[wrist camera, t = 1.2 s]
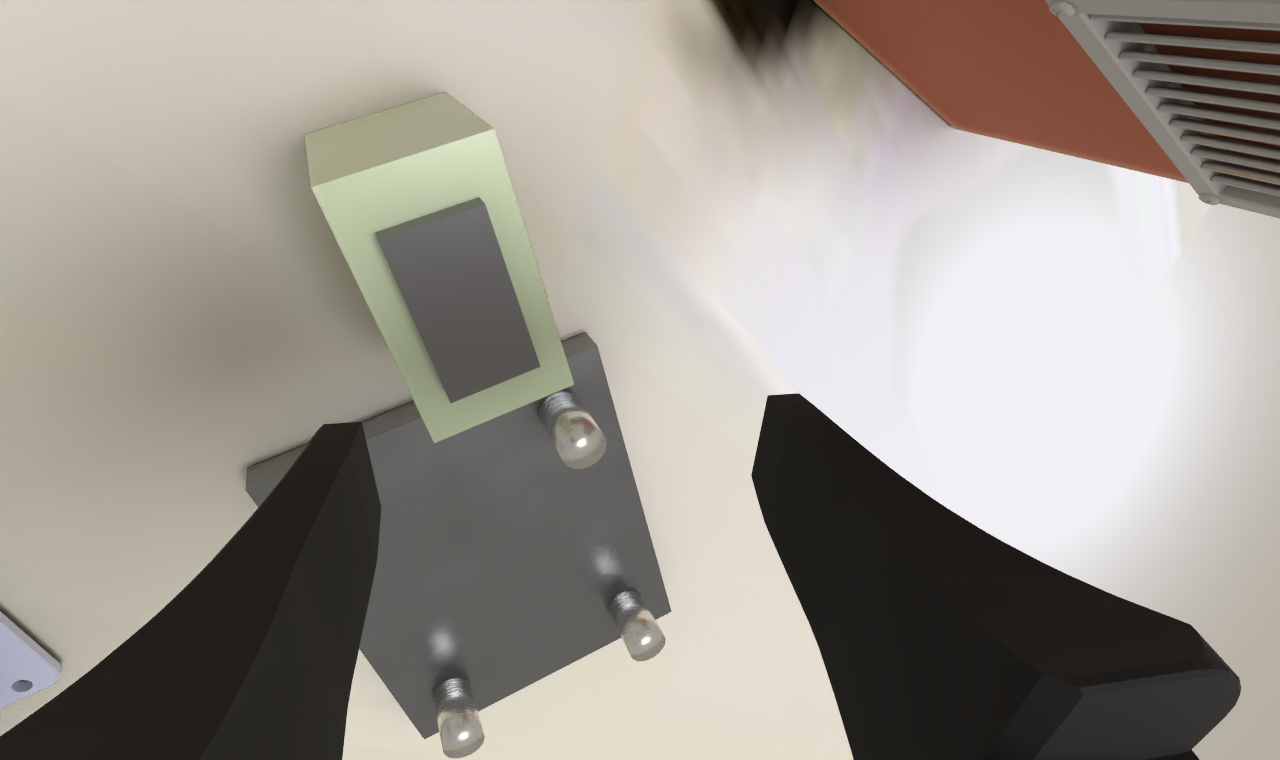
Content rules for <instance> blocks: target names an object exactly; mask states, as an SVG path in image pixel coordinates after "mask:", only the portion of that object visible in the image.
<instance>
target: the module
mask: <svg viewBox="0 0 1280 760" xmlns="http://www.w3.org/2000/svg"><path fill="white" fill-rule="evenodd" d="M304 138H305V146H306V153H307V161H308V169H309V176H310V184H311V188H312V191H313V193H314V195H315V197H316V199H317V201H318V203H319V205H320V207H321V209H322V211H323V213H324V215H325V218H326V220H327V222H328V224H329V226H330V228H331V230H332V232H333V234H334V236H335V238H336V240H337V242H338V245H339V247H340V249H341V251H342V253H343V255H344V257H345V259H346V261H347V263H348V265H349V267H350V269H351V272H352V274H353V276H354V278H355V280H356V282H357V284H358V286H359V288H360V290H361V292H362V294H363V296H364V298H365V301H366V303H367V305H368V307H369V309H370V311H371V313H372V315H373V317H374V319H375V321H376V323H377V325H378V328H379V330H380V332H381V334H382V336H383V338H384V340H385V342H386V344H387V346H388V348H389V350H390V352H391V355H392V357H393V359H394V361H395V363H396V365H397V367H398V369H399V371H400V373H401V375H402V377H403V379H404V382H405V384H406V386H407V388H408V390H409V392H410V394H411V396H412V398H413V400H414V402H415V404H416V406H417V408H418V411H419V413H420V415H421V417H422V419H423V421H424V423H425V425H426V427H427V429H428V431H429V433H430V435H431V438H432V440H433V442H434V443H436V442H439V441H441V440H443V439H446V438H448V437H450V436H453V435H455V434H458V433H460V432H462V431H465V430H467V429H470V428H472V427H474V426H477V425H479V424H481V423H484V422H486V421H489V420H491V419H493V418H496V417H498V416H501V415H503V414H505V413H508V412H510V411H512V410H515V409H517V408H520V407H522V406H524V405H527V404H529V403H531V402H534V401H536V400H539V399H541V398H543V397H546V396H548V395H551V394H553V393H555V392H558V391H560V390H562V389H565V388H567V387H570V386H572V385H574V381H573V378H572V375H571V372H570V369H569V365H568V362H567V359H566V356H565V353H564V349H563V346H562V343H561V340H560V337H559V334H558V330H557V327H556V324H555V321H554V318H553V314H552V311H551V308H550V305H549V302H548V298H547V295H546V292H545V289H544V286H543V282H542V279H541V276H540V273H539V270H538V266H537V263H536V260H535V257H534V254H533V250H532V247H531V244H530V241H529V238H528V235H527V231H526V228H525V225H524V222H523V219H522V215H521V212H520V209H519V206H518V203H517V199H516V196H515V193H514V190H513V187H512V183H511V180H510V177H509V174H508V171H507V167H506V164H505V161H504V158H503V155H502V151H501V148H500V145H499V142H498V139H497V136H496V132H495V129H494V128H493V127H491V126H490V125H489V124H487V123H486V122H485V121H483V120H482V119H481V118H479V117H478V116H477V115H475V114H474V113H473V112H471V111H470V110H469V109H467V108H466V107H464V106H463V105H462V104H460V103H459V102H458V101H456V100H455V99H454V98H452V97H451V96H450V95H448V94H447V93H446V92H443V93H439V94H436V95H433V96H429V97H426V98H423V99H419V100H416V101H413V102H410V103H406V104H403V105H400V106H396V107H393V108H390V109H386V110H383V111H380V112H376V113H373V114H370V115H366V116H363V117H360V118H356V119H353V120H350V121H346V122H343V123H340V124H336V125H333V126H330V127H327V128H323V129H320V130H317V131H313V132H310V133H307V134H304Z"/></svg>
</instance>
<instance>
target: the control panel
mask: <svg viewBox="0 0 1280 760" xmlns="http://www.w3.org/2000/svg"><path fill="white" fill-rule="evenodd" d="M813 1H814V2H815V3H816V4H818V5H819V6H820V7H821V8H822V9H823V10H824V11H825V12H826V13H827V14H829V15H830V16H831V17H832V18H833V19H834V20H835V21H836V22H837V23H838V24H840V25H841V26H842V27H843V28H844V29H845V30H846V31H847V32H848V33H850V34H851V35H852V36H853V37H854V38H855V39H856V40H857V41H858V42H859V43H861V44H862V45H863V46H864V47H865V48H866V49H867V50H868V51H869V52H870V53H872V54H873V55H874V56H875V57H876V58H877V59H878V60H879V61H880V62H882V63H883V64H884V65H885V66H886V67H887V68H888V69H889V70H890V71H891V72H893V73H894V74H895V75H896V76H897V77H898V78H899V79H900V80H901V81H902V82H904V83H905V84H906V85H907V86H908V87H909V88H910V89H911V90H912V91H914V92H915V93H916V94H917V95H918V96H919V97H920V98H921V99H922V100H923V101H925V102H926V103H927V104H928V105H929V106H930V107H931V108H932V109H933V110H934V111H936V112H937V113H938V114H939V115H940V116H941V117H942V118H943V119H944V120H946V121H947V122H948V123H949V124H950V125H951V126H952V127H953V128H954V129H959V130H963V131H967V132H972V133H976V134H980V135H984V136H989V137H993V138H997V139H1002V140H1006V141H1010V142H1015V143H1019V144H1023V145H1028V146H1032V147H1036V148H1040V149H1045V150H1049V151H1053V152H1058V153H1062V154H1067V155H1071V156H1075V157H1080V158H1083V159H1088V160H1092V161H1096V162H1101V163H1105V164H1109V165H1114V166H1118V167H1122V168H1127V169H1131V170H1135V171H1139V172H1144V173H1148V174H1152V175H1157V176H1161V177H1165V178H1170V179H1174V180H1178V181H1182V182H1187V183H1190V185H1191V186H1192V187H1193V189H1194V190H1195V191H1196V192H1197V194H1198V195H1199V199H1200V200H1201V201H1203V202H1205V203H1207V204H1210V205H1217V204H1218V203H1220V204H1224V205H1228V206H1232V207H1236V208H1240V209H1244V210H1248V211H1252V212H1256V213H1260V214H1265V215H1268V216H1272V217H1277V218H1280V0H813Z"/></svg>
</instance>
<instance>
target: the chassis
mask: <svg viewBox="0 0 1280 760" xmlns="http://www.w3.org/2000/svg"><path fill="white" fill-rule="evenodd" d="M561 343H562V346H563V349H564V353H565V356H566V359H567V362H568V365H569V369H570V372H571V375H572V378H573V381H574V385H572V386H570V387H567V388H565V389H562V390H560V391H558V392H555V393H553V394H551V395H548V396H546V397H543V398H541V399H539V400H536V401H534V402H531V403H529V404H527V405H524V406H522V407H520V408H517V409H515V410H512V411H510V412H508V413H505V414H503V415H501V416H498V417H496V418H493V419H491V420H489V421H486V422H484V423H481V424H479V425H477V426H474V427H472V428H470V429H467V430H465V431H462V432H460V433H458V434H455V435H453V436H450V437H448V438H446V439H443V440H441V441H439V442H436V443H434V442H433V440H432V438H431V435H430V433H429V431H428V429H427V427H426V425H425V423H424V421H423V419H422V417H421V415H420V413H419V411H418V408H417V406H416V404H415V402H414V401H413V402H410V403H408V404H405V405H403V406H401V407H398V408H396V409H393V410H391V411H388V412H386V413H383V414H381V415H378V416H376V417H373V418H371V419H368V420H366V421H363V422H362V425H363V429H364V433H365V438H366V442H367V447H368V451H369V455H370V460H371V464H372V469H373V473H374V477H375V482H376V486H377V490H378V495H379V499H380V504H381V519H380V533H379V545H378V557H377V564H376V569H375V574H374V579H373V584H372V589H371V594H370V599H369V603H368V608H367V613H366V618H365V622H364V627H363V632H362V636H361V641H360V646H359V649H360V650H361V651H362V653H363V654H364V656H365V657H366V658H367V660H368V661H369V663H370V664H371V665H372V667H373V668H374V670H375V671H376V672H377V674H378V675H379V677H380V678H381V679H382V681H383V682H384V684H385V685H386V686H387V688H388V689H389V691H390V692H391V693H392V695H393V696H394V698H395V699H396V700H397V702H398V703H399V705H400V706H401V707H402V709H403V710H404V712H405V713H406V714H407V716H408V717H409V719H410V720H411V721H412V723H413V724H414V726H415V727H416V728H417V730H418V731H419V733H420V734H421V735H422V737H423V738H424V739H426V738H428V737H430V736H432V735H434V734H436V733H438V732H439V733H440V738H441V742H442V747H443V752H444V754H445V755H446V756H447V757H450V758H461V757H465V756H468V755H470V754H472V753H473V752H475V751H476V750H477V749H478V748H480V746H481V745H482V744H483V741H484V733H483V729H482V726H481V722H480V718H479V714H478V711H480V710H482V709H484V708H486V707H488V706H490V705H492V704H494V703H496V702H497V701H499V700H501V699H503V698H505V697H507V696H509V695H511V694H513V693H515V692H517V691H519V690H521V689H523V688H524V687H526V686H528V685H530V684H532V683H534V682H536V681H538V680H540V679H542V678H544V677H546V676H548V675H550V674H552V673H553V672H555V671H557V670H559V669H561V668H563V667H565V666H567V665H569V664H571V663H573V662H575V661H577V660H579V659H581V658H582V657H584V656H586V655H588V654H590V653H592V652H594V651H596V650H598V649H600V648H602V647H604V646H606V645H608V644H610V643H611V642H613V641H615V640H617V639H619V638H621V637H622V639H623V641H624V643H625V645H626V647H627V649H628V651H629V653H630V655H631V657H632V658H633V659H634V660H636V661H645V660H648V659H651V658H653V657H654V656H656V655H657V654H658V653H659V652H660V651H661V650H662V649H663V647H664V645H665V637H664V635H663V633H662V631H661V630H660V628H659V626H658V624H657V623H656V621H655V620H656V619H658V618H660V617H662V616H664V615H666V614H667V613H669V612H671V608H670V605H669V601H668V598H667V594H666V590H665V587H664V583H663V580H662V576H661V573H660V569H659V565H658V562H657V558H656V555H655V551H654V548H653V544H652V540H651V537H650V533H649V530H648V526H647V522H646V519H645V515H644V512H643V508H642V505H641V501H640V497H639V494H638V490H637V487H636V483H635V480H634V476H633V472H632V469H631V465H630V462H629V458H628V454H627V451H626V447H625V444H624V440H623V437H622V433H621V429H620V426H619V422H618V419H617V415H616V412H615V408H614V404H613V401H612V397H611V394H610V390H609V386H608V383H607V379H606V376H605V372H604V369H603V365H602V361H601V358H600V354H599V351H598V347H597V345H596V344H595V343H594V342H593V340H592V339H591V338H590V337H589V336H588V334H587V333H586V332H585V333H582V334H580V335H577V336H575V337H572V338H570V339H567V340H565V341H562V342H561ZM307 445H308V444H306V445H303V446H301V447H298V448H296V449H293V450H291V451H288V452H286V453H283V454H281V455H279V456H276V457H274V458H271V459H269V460H266V461H264V462H261V463H259V464H256V465H254V466H251V467H249V468H247V478H246V491H247V492H248V494H249V495H250V496H251V498H252V499H253V501H254V502H255V503H256V505H257V506H258V507H259V506H260V505H261V504H262V503H263V501H264V500H265V499H266V498H267V496H268V495H269V494H270V493H271V492H272V490H273V489H274V488H275V487H276V485H277V484H278V483H279V482H280V480H281V479H282V478H283V476H284V475H285V474H286V472H287V471H288V470H289V469H290V467H291V466H292V465H293V463H294V462H295V461H296V459H297V458H298V457H299V455H300V454H301V453H302V451H303V450H304V449H305V447H306V446H307Z"/></svg>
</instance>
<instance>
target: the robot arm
mask: <svg viewBox="0 0 1280 760" xmlns="http://www.w3.org/2000/svg"><path fill="white" fill-rule="evenodd" d="M751 476H752V480H753V483H754V487H755V490H756V494H757V498H758V501H759V505H760V508H761V511H762V515H763V518H764V521H765V524H766V526H767V529H768V531H769V533H770V536H771V538H772V540H773V543H774V545H775V547H776V549H777V552H778V554H779V556H780V559H781V561H782V563H783V565H784V568H785V570H786V572H787V574H788V577H789V579H790V581H791V583H792V585H793V588H794V590H795V592H796V594H797V597H798V599H799V601H800V603H801V606H802V608H803V610H804V612H805V615H806V617H807V619H808V621H809V623H810V626H811V628H812V631H813V633H814V636H815V639H816V641H817V644H818V646H819V649H820V652H821V655H822V658H823V661H824V664H825V667H826V670H827V673H828V676H829V679H830V683H831V686H832V689H833V692H834V695H835V698H836V701H837V705H838V708H839V711H840V715H841V718H842V721H843V725H844V728H845V731H846V735H847V738H848V741H849V744H850V748H851V751H852V755H853V759H854V760H1199V759H1198V757H1197V756H1196V755H1195V754H1194V752H1193V751H1192V750H1191V749H1192V748H1193V747H1194V746H1195V745H1197V744H1198V743H1199V741H1201V740H1202V739H1203V738H1204V737H1205V736H1206V735H1207V734H1208V733H1209V732H1210V731H1211V730H1212V729H1213V728H1214V727H1215V726H1216V725H1217V724H1218V723H1219V722H1220V721H1221V720H1222V719H1223V718H1224V717H1225V716H1226V715H1227V714H1228V713H1229V712H1230V711H1231V709H1232V708H1233V707H1234V706H1235V705H1236V702H1237V700H1238V698H1239V695H1240V691H1241V685H1240V680H1239V677H1238V676H1237V675H1236V674H1235V673H1234V672H1233V671H1232V670H1231V669H1230V667H1229V666H1228V665H1227V664H1226V663H1225V662H1224V661H1223V660H1222V658H1221V657H1219V655H1218V654H1217V653H1216V652H1215V651H1214V650H1213V649H1212V648H1211V646H1209V644H1208V643H1207V642H1206V641H1205V640H1204V639H1203V638H1202V637H1201V636H1200V634H1199V633H1198V632H1197V631H1196V630H1195V629H1194V628H1193V627H1192V626H1191V625H1190V624H1187V623H1185V622H1182V621H1179V620H1177V619H1174V618H1172V617H1169V616H1166V615H1164V614H1161V613H1159V612H1156V611H1153V610H1151V609H1148V608H1145V607H1143V606H1140V605H1137V604H1135V603H1133V602H1130V601H1127V600H1125V599H1122V598H1120V597H1117V596H1115V595H1112V594H1110V593H1107V592H1105V591H1103V590H1101V589H1098V588H1096V587H1094V586H1092V585H1090V584H1087V583H1085V582H1083V581H1080V580H1078V579H1076V578H1074V577H1072V576H1069V575H1067V574H1065V573H1063V572H1061V571H1059V570H1057V569H1054V568H1053V567H1051V566H1048V565H1046V564H1044V563H1042V562H1040V561H1038V560H1036V559H1034V558H1033V557H1031V556H1029V555H1027V554H1025V553H1023V552H1021V551H1019V550H1017V549H1016V548H1014V547H1012V546H1010V545H1008V544H1006V543H1004V542H1002V541H1001V540H999V539H997V538H995V537H994V536H992V535H990V534H988V533H986V532H985V531H983V530H981V529H980V528H978V527H976V526H975V525H973V524H972V523H970V522H968V521H967V520H965V519H964V518H962V517H960V516H959V515H957V514H955V513H954V512H952V511H951V510H949V509H947V508H946V507H944V506H943V505H941V504H940V503H938V502H937V501H935V500H934V499H932V498H931V497H929V496H928V495H927V494H925V493H924V492H922V491H921V490H920V489H918V488H917V487H915V486H914V485H913V484H911V483H910V482H909V481H907V480H906V479H904V478H903V477H902V476H900V475H899V474H898V473H896V472H895V471H894V470H892V469H891V468H890V467H888V466H887V465H886V464H885V463H883V462H882V461H881V460H879V459H878V458H877V457H876V456H874V455H873V454H872V453H871V452H869V451H868V450H867V449H866V448H864V447H863V446H862V445H861V444H860V443H858V442H857V441H856V440H855V439H853V438H852V437H851V436H850V435H849V434H847V433H846V432H845V431H844V430H843V429H841V428H840V427H839V426H838V425H837V424H835V423H834V422H833V421H832V420H831V419H829V418H828V417H827V416H826V415H825V414H824V413H822V412H821V411H820V410H819V409H818V408H816V407H815V406H814V405H813V404H811V403H810V402H809V401H808V400H807V399H805V398H804V397H803V396H801V395H800V394H784V395H769V396H768V397H767V402H766V407H765V412H764V417H763V422H762V427H761V432H760V436H759V441H758V446H757V451H756V456H755V461H754V466H753V471H752V475H751ZM380 519H381V504H380V499H379V495H378V490H377V486H376V482H375V477H374V473H373V469H372V464H371V460H370V455H369V451H368V447H367V442H366V438H365V433H364V429H363V425H362V422H354V423H338V424H324V425H323V426H322V427H321V428H320V429H319V430H318V431H317V432H316V434H315V435H314V436H313V438H312V439H311V440H310V442H309V443H308V445H307V446H306V447H305V449H304V450H303V451H302V453H301V454H300V455H299V457H298V458H297V459H296V461H295V462H294V463H293V465H292V466H291V467H290V469H289V470H288V471H287V472H286V474H285V475H284V476H283V478H282V479H281V480H280V482H279V483H278V484H277V485H276V487H275V488H274V489H273V490H272V492H271V493H270V494H269V495H268V496H267V498H266V499H265V500H264V501H263V503H262V504H261V505H260V506H259V507H258V509H257V510H256V511H255V512H254V514H253V515H252V516H251V517H250V518H249V520H248V521H247V522H246V523H245V524H244V525H243V527H242V528H241V529H240V530H239V531H238V532H237V533H236V534H235V535H234V536H233V538H232V539H231V540H230V541H229V542H228V543H227V544H226V545H225V546H224V548H223V549H222V550H221V551H220V552H219V553H218V554H217V555H216V556H215V558H214V559H213V560H212V561H211V562H210V563H209V564H208V565H207V566H206V567H205V568H204V569H203V570H202V571H201V572H200V573H199V574H198V575H197V576H196V577H195V578H194V579H193V580H192V581H191V582H190V583H189V584H188V585H187V586H186V587H185V588H184V589H183V590H182V591H181V592H180V593H179V594H178V595H177V596H176V597H175V598H174V599H173V600H172V601H171V602H169V603H168V604H167V605H166V606H165V607H164V608H163V609H162V610H161V611H160V612H159V613H158V614H157V615H156V616H154V617H153V618H152V619H151V620H150V621H149V622H148V623H146V624H145V625H144V626H143V627H142V628H141V629H140V630H138V631H137V632H136V633H135V634H134V635H132V636H131V637H130V638H129V639H128V640H126V641H125V642H124V643H123V644H122V645H120V646H119V647H118V648H117V649H116V650H114V651H113V652H112V653H111V654H110V655H108V656H107V657H106V658H105V659H104V660H102V661H101V662H100V663H99V664H98V665H96V666H95V667H94V668H93V669H91V670H90V671H89V672H88V673H86V674H85V675H84V676H83V677H81V678H80V679H79V680H77V681H76V682H75V683H73V684H72V685H71V686H69V687H68V688H67V689H65V690H64V691H63V692H61V693H60V694H59V695H57V696H56V697H55V698H54V699H52V700H51V701H49V702H48V703H47V704H45V705H44V706H42V707H41V708H40V709H38V710H37V711H36V712H34V713H33V714H31V715H30V716H29V717H27V718H26V719H24V720H23V721H22V722H20V723H19V724H18V725H16V726H15V727H13V728H12V729H10V730H9V731H7V732H6V733H5V734H3V735H2V736H0V760H342V755H343V745H344V736H345V726H346V717H347V708H348V702H349V696H350V690H351V684H352V679H353V674H354V670H355V665H356V660H357V655H358V651H359V646H360V641H361V636H362V632H363V627H364V622H365V618H366V613H367V608H368V603H369V599H370V594H371V589H372V584H373V579H374V574H375V569H376V564H377V557H378V545H379V533H380ZM60 673H61V665H60V664H59V662H58V661H56V660H55V659H54V658H53V657H52V656H51V655H50V654H48V653H47V652H46V651H45V650H44V649H43V648H42V647H40V646H39V645H38V644H37V643H36V642H35V641H34V640H32V639H31V638H30V637H29V636H28V635H27V634H26V633H24V632H23V631H22V630H21V629H20V628H19V627H18V626H16V625H15V624H14V623H13V622H12V621H11V620H9V619H8V618H7V617H6V616H5V615H4V614H3V613H1V612H0V708H2V707H4V706H6V705H8V704H11V703H13V702H15V701H17V700H20V699H22V698H24V697H26V696H29V695H31V694H33V693H35V692H38V691H40V690H42V689H44V688H47V687H49V686H51V685H52V684H54V683H56V681H57V680H58V679H59V676H60ZM19 680H28V681H29V682H20V681H19Z"/></svg>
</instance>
